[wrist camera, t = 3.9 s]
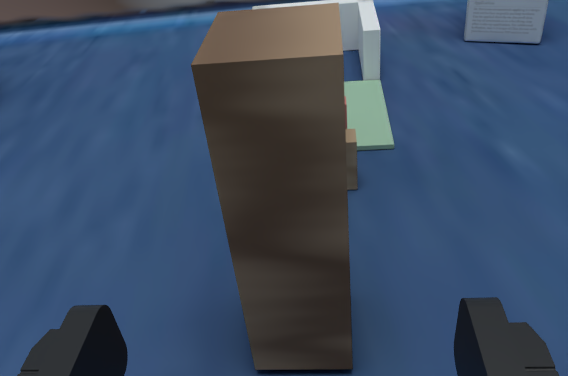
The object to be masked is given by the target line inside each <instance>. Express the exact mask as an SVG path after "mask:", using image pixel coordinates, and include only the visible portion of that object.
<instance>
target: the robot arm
mask: <svg viewBox="0 0 568 376" xmlns="http://www.w3.org/2000/svg"><path fill="white" fill-rule="evenodd" d="M454 357H455V365H456V370H457V374H458V376H559V374H558V372H557V371H556V370H555V365H554V362H553V360H552V358H551V355H550V353H549V350H548V348H547V346H546V343H545V342H544V341H543V340H542V339H541V338H540V337H539V335H538V334H537V333H536V332H535V331H534V330H533V329H532V328H531V327H530V326H529V325H528V324H527V323H526V322H522V323H508V320H507V317H506V314H505V312H504V309H503V306H502V304H501V302H500V300H499V299H498V298H496V297H492V298H462V299H461V301H460V305H459V312H458V319H457V325H456V332H455V339H454ZM126 366H127V347H126V344H125V341H124V339H123V337H122V334H121V332H120V330H119V328H118V325H117V323H116V321H115V318H114V316H113V314H112V312H111V310H110V308H109V307H108V306H107V305H81V306H73V307H72V308H71V309H70V310H69V311H68V313H67V315H66V317H65V319H64V321H63V323H62V325H61V327H60V329H50V330H49V331H48V332H47V333H46V334H45V335H44V336H43V337H42V339H41V340H40V341H39V342H38V343H37V344H36V345H35V346H34V347H33V348H32V349H31V351H30V353H29V355H28V357H27V358H26V360H25V362H24V364H23V366H22V368H21V373H20V374H18V375H17V376H124V374H125V371H126Z"/></svg>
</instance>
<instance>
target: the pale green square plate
mask: <svg viewBox="0 0 568 376" xmlns="http://www.w3.org/2000/svg"><path fill="white" fill-rule="evenodd" d="M344 96H346V104H347V129H355V130H356V140H357V150H376V149H394V142H393V137H392V133H391V128H390V123H389V119H388V114H387V109H386V105H385V100H384V96H383V91H382V86H381V82H380V80H365V81H349V82H344Z"/></svg>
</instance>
